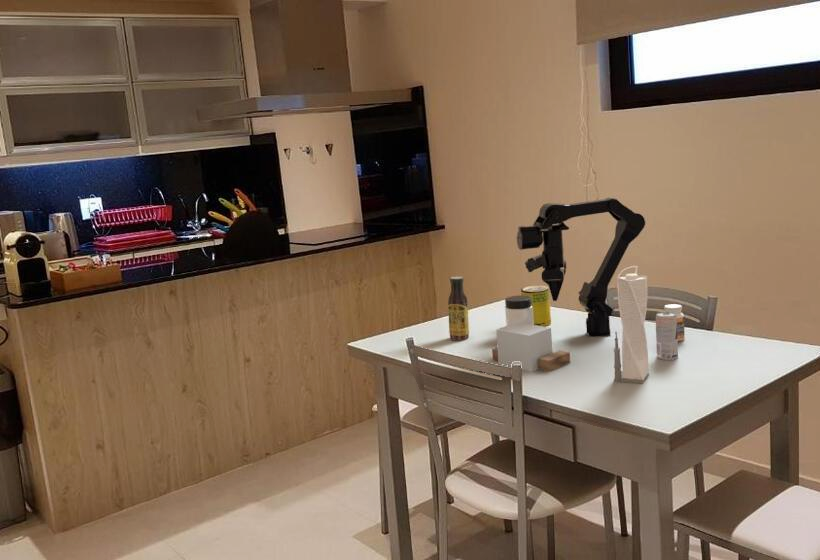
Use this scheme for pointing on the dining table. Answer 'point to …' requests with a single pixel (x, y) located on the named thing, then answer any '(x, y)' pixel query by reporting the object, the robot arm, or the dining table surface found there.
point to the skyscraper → (632, 329)
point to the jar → (519, 310)
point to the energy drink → (666, 335)
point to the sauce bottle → (458, 310)
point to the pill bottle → (680, 318)
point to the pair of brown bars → (546, 359)
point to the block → (523, 344)
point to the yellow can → (539, 304)
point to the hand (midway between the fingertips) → (556, 297)
